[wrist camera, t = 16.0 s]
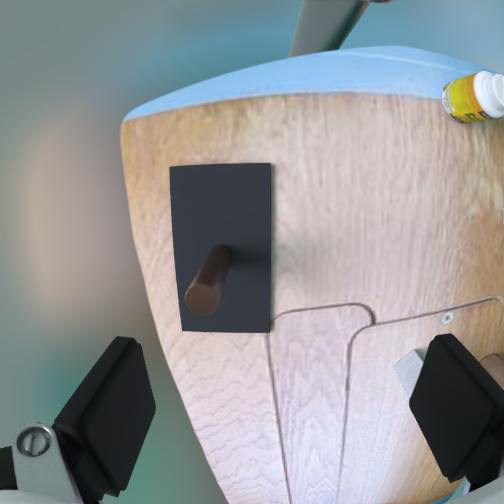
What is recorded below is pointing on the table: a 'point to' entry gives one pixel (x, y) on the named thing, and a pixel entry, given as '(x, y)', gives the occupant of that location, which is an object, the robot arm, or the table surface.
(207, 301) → the walnut stick
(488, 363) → the planter
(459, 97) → the supplement bottle
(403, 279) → the table surface
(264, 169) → the felt mat
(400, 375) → the cosmetic box
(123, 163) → the table surface
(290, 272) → the table surface
